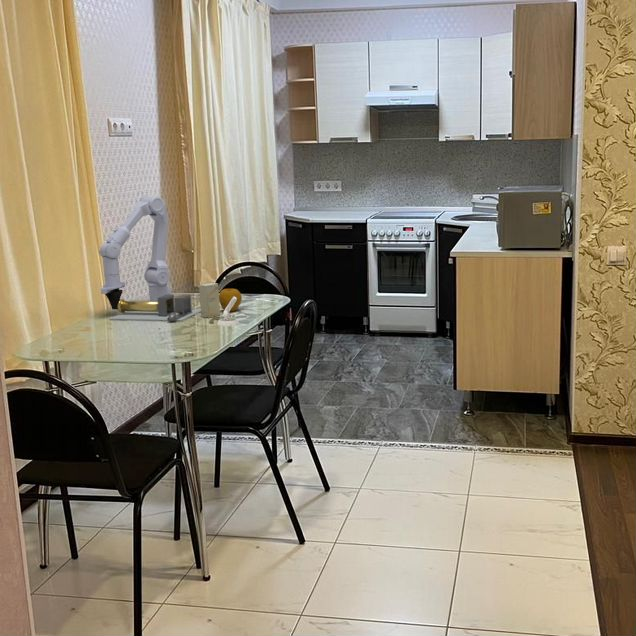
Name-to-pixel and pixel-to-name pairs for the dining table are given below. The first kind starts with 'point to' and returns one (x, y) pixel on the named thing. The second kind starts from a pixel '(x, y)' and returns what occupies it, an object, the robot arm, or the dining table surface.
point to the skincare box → (209, 300)
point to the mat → (148, 316)
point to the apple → (229, 298)
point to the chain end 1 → (163, 307)
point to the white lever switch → (228, 315)
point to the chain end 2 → (181, 307)
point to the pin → (139, 306)
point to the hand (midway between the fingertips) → (115, 309)
